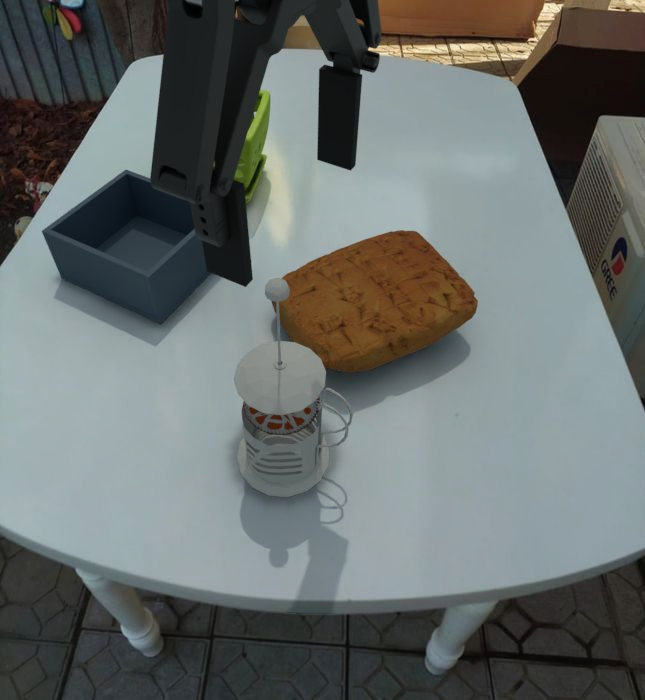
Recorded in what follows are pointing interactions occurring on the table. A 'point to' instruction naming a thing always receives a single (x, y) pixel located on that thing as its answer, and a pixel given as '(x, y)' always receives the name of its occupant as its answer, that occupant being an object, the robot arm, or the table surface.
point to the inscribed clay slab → (375, 301)
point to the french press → (283, 413)
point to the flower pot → (254, 147)
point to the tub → (130, 247)
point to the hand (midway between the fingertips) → (288, 213)
